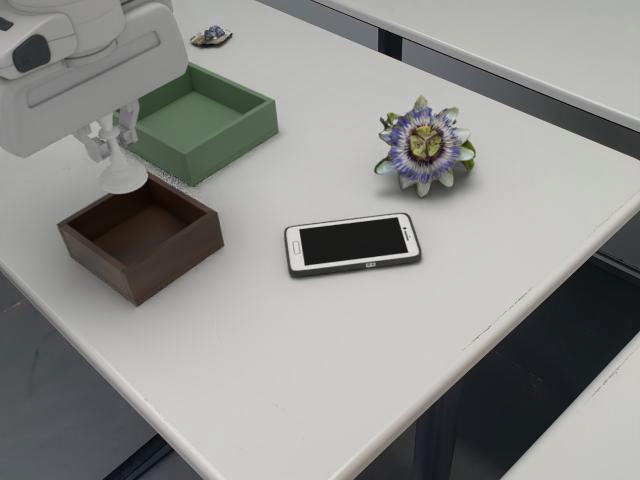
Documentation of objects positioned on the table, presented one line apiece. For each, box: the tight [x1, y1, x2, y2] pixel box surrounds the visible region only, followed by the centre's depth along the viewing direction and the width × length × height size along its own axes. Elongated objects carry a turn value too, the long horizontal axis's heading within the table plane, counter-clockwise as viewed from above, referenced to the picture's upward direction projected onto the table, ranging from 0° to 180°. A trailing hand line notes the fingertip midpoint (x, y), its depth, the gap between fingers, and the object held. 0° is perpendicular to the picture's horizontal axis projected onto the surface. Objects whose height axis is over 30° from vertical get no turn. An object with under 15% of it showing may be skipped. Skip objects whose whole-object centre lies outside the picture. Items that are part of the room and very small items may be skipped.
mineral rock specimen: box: [189, 25, 230, 46], centre depth 114 cm, size 7×8×2 cm
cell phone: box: [283, 212, 423, 277], centre depth 77 cm, size 8×15×1 cm, turn 97°
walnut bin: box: [56, 170, 225, 307], centre depth 78 cm, size 13×13×5 cm
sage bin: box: [112, 61, 280, 187], centre depth 93 cm, size 18×16×5 cm
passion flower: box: [373, 94, 477, 198], centre depth 84 cm, size 11×11×12 cm
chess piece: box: [95, 112, 148, 194], centre depth 68 cm, size 5×5×10 cm
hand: (114, 150), depth 69 cm, fingers closed on chess piece
